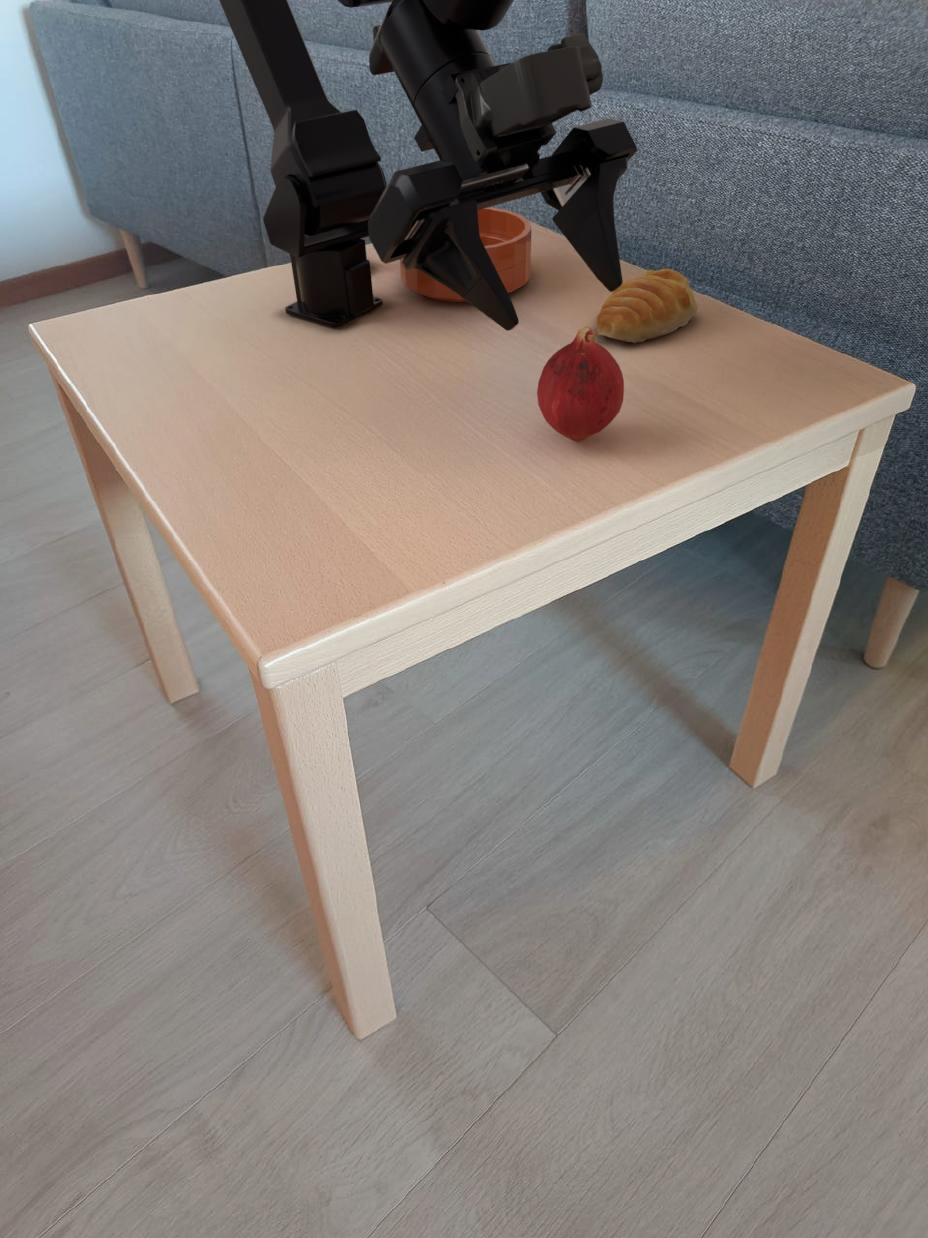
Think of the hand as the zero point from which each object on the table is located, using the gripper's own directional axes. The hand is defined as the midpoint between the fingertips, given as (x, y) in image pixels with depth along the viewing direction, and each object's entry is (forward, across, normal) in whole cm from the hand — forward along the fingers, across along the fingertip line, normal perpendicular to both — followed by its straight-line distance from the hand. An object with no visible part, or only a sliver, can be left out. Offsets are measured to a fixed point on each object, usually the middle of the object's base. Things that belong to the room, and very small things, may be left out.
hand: (567, 306), depth 57 cm
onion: (+8, 0, +5) cm, 9 cm away
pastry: (0, +18, +12) cm, 22 cm away
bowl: (-13, +13, +25) cm, 31 cm away
